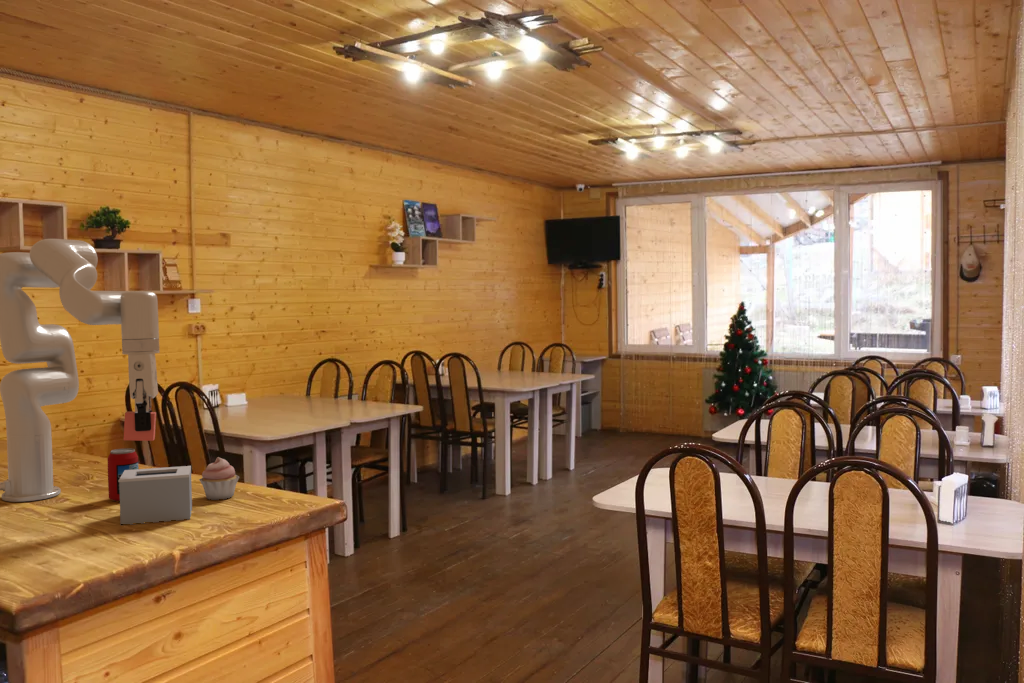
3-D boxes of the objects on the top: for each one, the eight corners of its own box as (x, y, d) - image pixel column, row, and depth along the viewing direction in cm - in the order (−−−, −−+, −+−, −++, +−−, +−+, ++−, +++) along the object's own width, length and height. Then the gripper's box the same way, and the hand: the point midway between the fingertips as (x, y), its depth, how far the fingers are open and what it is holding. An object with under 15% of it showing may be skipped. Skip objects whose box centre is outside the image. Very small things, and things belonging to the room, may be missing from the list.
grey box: (120, 525, 176) (119, 479, 175) (125, 513, 185) (124, 470, 185) (190, 519, 180) (189, 474, 180) (192, 508, 190) (190, 465, 189)
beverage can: (127, 503, 195) (125, 453, 194) (102, 501, 196) (100, 452, 195) (145, 496, 201) (143, 448, 201) (121, 495, 203) (119, 447, 202)
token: (123, 440, 179) (124, 413, 179) (125, 438, 182) (126, 411, 181) (153, 440, 181) (154, 413, 180) (154, 438, 183) (156, 412, 183)
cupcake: (192, 497, 200) (191, 457, 200) (228, 490, 207) (227, 451, 206) (210, 504, 194) (209, 462, 193) (246, 496, 201) (246, 456, 200)
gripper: (155, 348, 174) (158, 433, 175) (162, 344, 189) (165, 423, 190) (116, 349, 172) (120, 436, 172) (127, 346, 187) (130, 425, 188)
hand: (144, 428), depth 181 cm, fingers closed on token, 2 cm apart
